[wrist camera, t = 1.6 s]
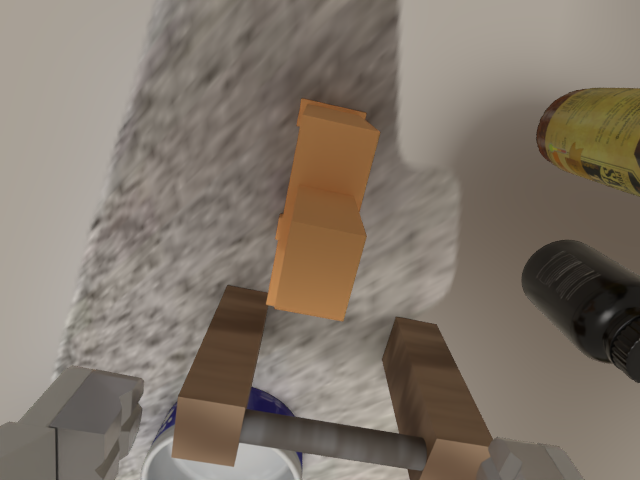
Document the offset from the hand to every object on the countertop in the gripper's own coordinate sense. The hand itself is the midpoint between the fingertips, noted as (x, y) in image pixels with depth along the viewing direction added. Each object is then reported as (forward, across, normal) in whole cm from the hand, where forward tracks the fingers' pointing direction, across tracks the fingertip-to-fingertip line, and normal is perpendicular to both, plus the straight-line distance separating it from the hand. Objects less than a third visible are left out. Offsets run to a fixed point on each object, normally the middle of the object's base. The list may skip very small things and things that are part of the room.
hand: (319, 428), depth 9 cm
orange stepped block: (+26, 0, 0) cm, 26 cm away
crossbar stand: (+26, -4, +14) cm, 30 cm away
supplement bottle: (+26, -23, +4) cm, 35 cm away
